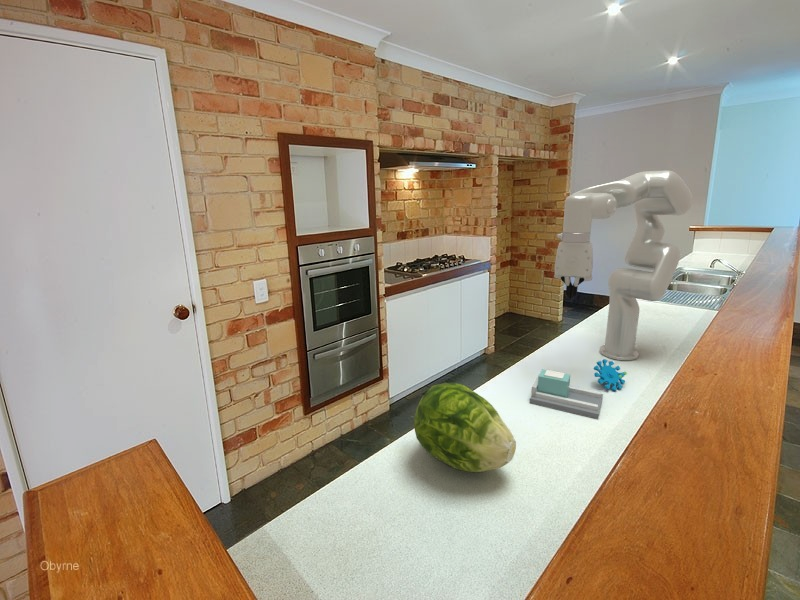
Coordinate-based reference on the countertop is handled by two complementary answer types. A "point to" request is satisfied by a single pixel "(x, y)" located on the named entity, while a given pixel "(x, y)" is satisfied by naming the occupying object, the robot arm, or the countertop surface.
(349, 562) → the countertop surface
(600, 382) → the gear
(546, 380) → the block
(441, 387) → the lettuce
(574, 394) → the rail base
